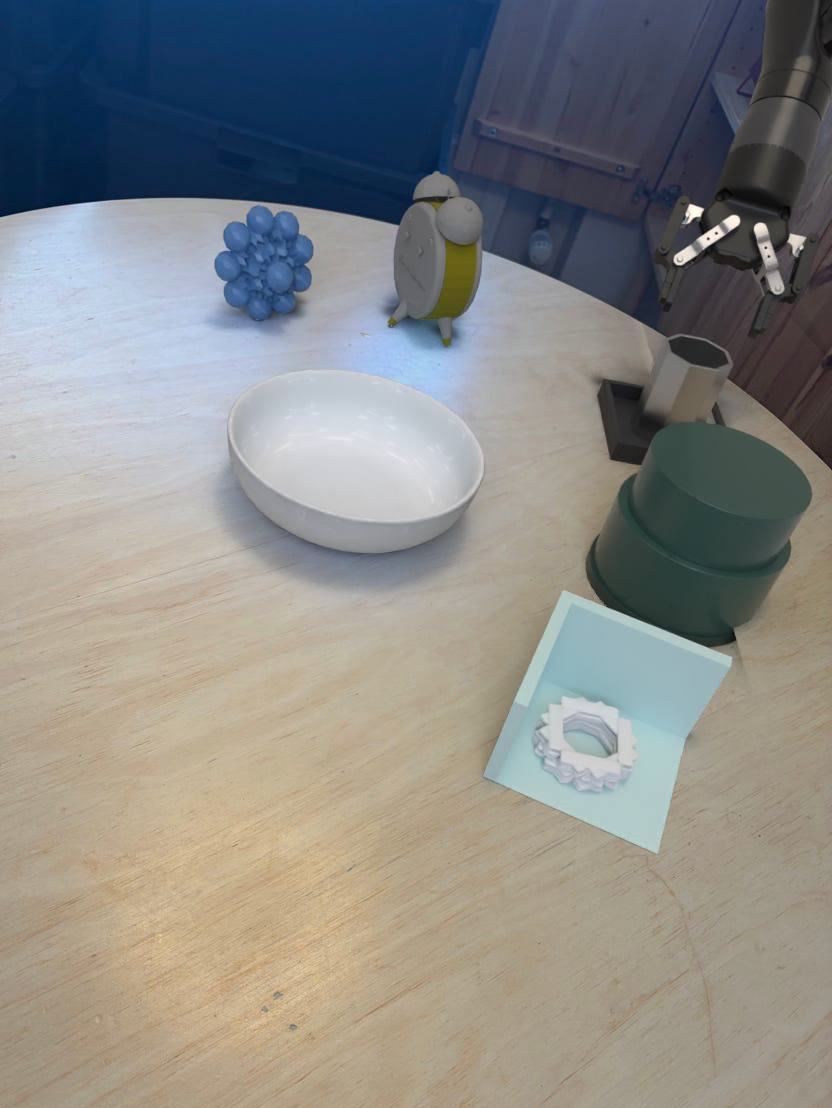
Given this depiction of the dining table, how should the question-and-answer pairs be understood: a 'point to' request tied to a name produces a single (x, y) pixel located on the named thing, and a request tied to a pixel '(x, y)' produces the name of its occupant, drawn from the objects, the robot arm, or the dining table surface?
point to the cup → (681, 384)
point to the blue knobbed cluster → (264, 262)
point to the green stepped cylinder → (699, 532)
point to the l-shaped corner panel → (605, 719)
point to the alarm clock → (437, 254)
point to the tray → (626, 420)
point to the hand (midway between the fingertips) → (709, 322)
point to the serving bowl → (353, 459)
